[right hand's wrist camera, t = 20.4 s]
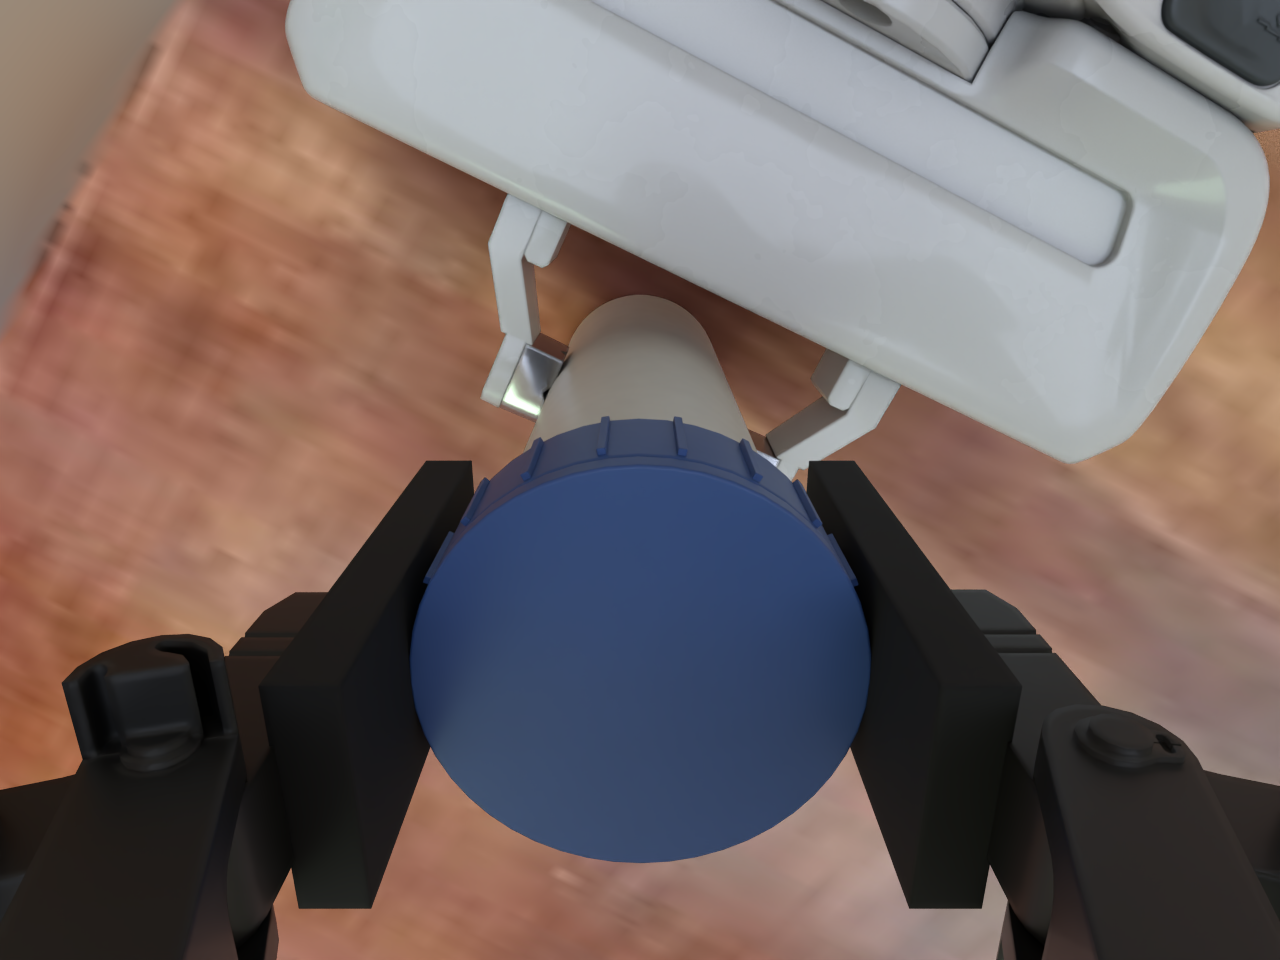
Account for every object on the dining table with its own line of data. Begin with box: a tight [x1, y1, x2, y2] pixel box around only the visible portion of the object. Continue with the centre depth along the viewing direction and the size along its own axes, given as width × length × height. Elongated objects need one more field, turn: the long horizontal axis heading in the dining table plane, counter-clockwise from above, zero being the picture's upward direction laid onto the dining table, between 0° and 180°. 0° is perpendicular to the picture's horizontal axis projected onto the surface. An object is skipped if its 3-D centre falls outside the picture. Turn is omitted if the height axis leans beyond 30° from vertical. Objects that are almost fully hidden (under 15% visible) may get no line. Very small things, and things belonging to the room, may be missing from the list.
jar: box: [523, 295, 758, 453], centre depth 19 cm, size 5×5×17 cm
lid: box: [409, 416, 871, 863], centre depth 11 cm, size 6×6×2 cm
